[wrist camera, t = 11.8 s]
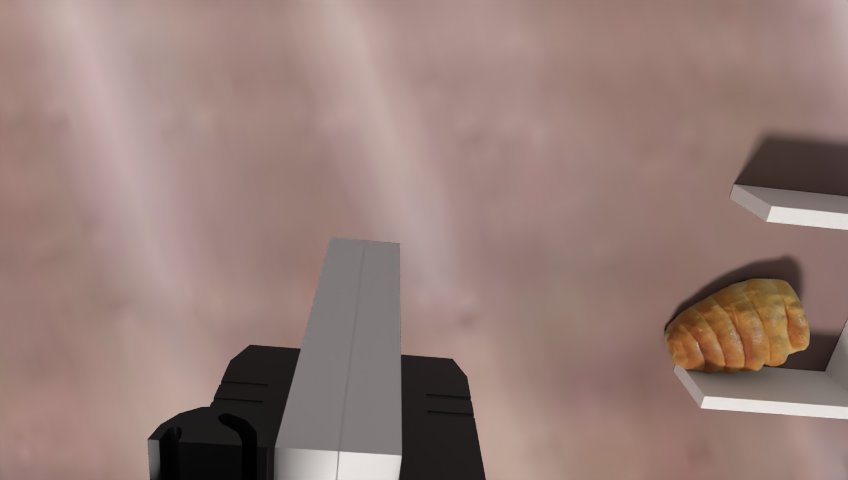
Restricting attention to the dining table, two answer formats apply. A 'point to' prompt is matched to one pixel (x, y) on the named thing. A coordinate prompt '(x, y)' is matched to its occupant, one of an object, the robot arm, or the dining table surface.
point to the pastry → (739, 328)
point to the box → (778, 387)
